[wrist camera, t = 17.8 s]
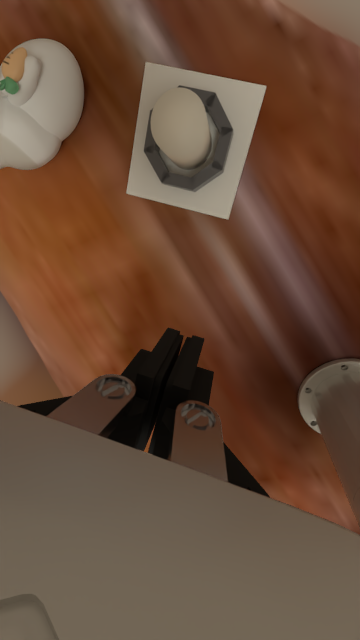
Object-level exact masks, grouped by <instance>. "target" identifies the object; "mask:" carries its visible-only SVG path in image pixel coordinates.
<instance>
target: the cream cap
mask: <svg viewBox="0 0 360 640" xmlns="http://www.w3.org/2000/svg"><path fill="white" fill-rule="evenodd" d="M151 132H152V135H153V138H154V140H155V142H156V144H157V145H158V146H159V147H160V149H161V150H162V151H163V152H164V153H165V154H166V155H167V156H168V157H169V158H170V160H171V161H172V162H173V163H174V164H175V165H176V166H177V167H179V168H181V169H183V170H194V169H197V168H199V167H200V166H202V165H203V164H204V163H205V162H206V160H207V159H208V157H209V155H210V152H211V148H212V138H211V133H210V129H209V124H208V120H207V116H206V111H205V107H204V105H203V103H202V101H201V99H200V98H199V96H198V95H197V94H196V93H194V92H193V91H191V90H189V89H187V88H180V87H178V88H173V89H170V90H168V91H167V92H165V93H164V94H163V95H162V96H161V97H160V98H159V99H158V100H157V102H156V104H155V106H154V108H153V111H152V114H151Z"/></svg>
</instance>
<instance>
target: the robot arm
mask: <svg viewBox="0 0 360 640" xmlns="http://www.w3.org/2000/svg"><path fill="white" fill-rule="evenodd" d="M182 340H183V335H180V331H177V330H174V329H171V328H167V330H166V331H165V333H164V334H163V336H162V337H161V339H160V340H159V342H158V343H157V345H156V346H155V348H154V349H153V350H152V352H150V351H147V350H143V349H141V350H140V351H139V352H138V354H137V355H136V356H135V357H134V359H133V360H132V361H131V362H130V364H129V365H128V366H127V368H126V369H125V370H124V371H123V373H122V374H121V375H115V374H108V375H103V376H100V377H98V378H96V379H94V380H93V381H92V382H91V383H89V384H88V385H87V386H85V387H84V388H83V389H81V390H80V391H79V392H77V393H76V394H75V395H74V396H69V397H64V398H58V399H53V400H47V401H42V402H36V403H31V404H26V405H20V406H14V405H12V404H9V403H6V402H3V401H1V400H0V640H360V535H359V534H357V533H355V532H353V531H351V530H349V529H347V528H345V527H343V526H341V525H338V524H336V523H334V522H331V521H329V520H326V519H324V518H321V517H319V516H316V515H314V514H311V513H309V512H306V511H304V510H301V509H299V508H296V507H294V506H291V505H289V504H286V503H283V502H280V501H278V500H275V499H272V498H270V497H269V495H268V494H267V493H266V492H265V490H264V489H263V488H262V487H261V486H260V485H259V483H258V482H257V481H256V480H255V479H254V477H253V476H252V475H251V474H250V473H249V472H248V470H247V469H246V468H245V467H244V466H243V465H242V463H241V462H240V461H239V460H238V459H237V458H236V456H235V455H234V454H233V453H232V452H231V450H230V449H229V448H228V447H227V446H226V445H225V443H224V442H223V437H222V428H221V421H220V418H219V415H218V414H217V413H216V411H215V410H214V409H213V408H211V407H210V406H209V399H210V393H211V387H212V380H213V374H214V372H212V371H209V370H206V369H203V368H200V367H197V363H198V360H199V356H200V353H201V349H202V346H203V342H204V338H200V337H197V336H194V335H193V336H192V338H189V337H187V338H186V340H185V343H184V345H183V347H182V349H181V352H180V348H181V344H182ZM179 352H180V354H179ZM178 355H179V356H178ZM342 365H343V366H342ZM298 406H299V410H300V413H301V415H302V417H303V419H304V420H305V422H306V423H307V424H308V425H309V426H310V427H311V428H312V429H313V430H315V431H316V432H318V433H320V434H322V437H323V439H324V442H325V444H326V447H327V449H328V452H329V454H330V456H331V459H332V461H333V464H334V466H335V469H336V471H337V474H338V476H339V479H340V481H341V484H342V486H343V488H344V491H345V493H346V496H347V498H348V501H349V503H350V506H351V508H352V511H353V513H354V515H355V517H356V520H357V522H358V525H359V527H360V359H355V358H350V359H339V360H334V361H331V362H328V363H325V364H323V365H321V366H319V367H318V368H316V369H315V370H313V371H312V372H311V373H310V374H309V375H308V376H307V377H306V378H305V379H304V381H303V382H302V384H301V386H300V389H299V392H298ZM155 423H156V424H155ZM154 425H155V428H154ZM153 428H154V431H153V435H152V439H151V443H150V447H149V451H148V453H150V454H148V453H146V452H143V451H144V449H145V447H146V445H147V442H148V440H149V437H150V435H151V433H152V430H153ZM140 450H142V451H140ZM151 454H152V455H151Z"/></svg>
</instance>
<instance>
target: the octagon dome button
mask: <svg viewBox="0 0 360 640" xmlns="http://www.w3.org/2000/svg"><path fill="white" fill-rule="evenodd" d="M178 87H180V88H187V89H189V90H191V91H193V92H194V93H196V94H197V95H198V96H199V98H200V99H201V101H202V103H203V105H204V107H205V111H206V116H207V120H208V124H209V129H210V133H211V138H212V148H211V152H210V155H209V157H208V159H207V160H206V162H205V163H204V164H203V165H202V166H200V167H199V168H197V169H194V170H183V169H181V168H179V167H177V166H176V165H175V164H174V163H173V162H172V161H171V160H170V158H169V157H168V156H167V155H166V154H165V153H164V152H163V151H162V150H161V149H160V147H159V146H158V145H157V144H156V142H155V140H154V138H153V135H152V132H151V114H152V111H153V108H154V106H155V104H156V102H157V100H158V99H159V98H160V97H161V96H162V95H163V94H164V93H165V92H167V91H168V90H170V89H173V88H178ZM265 91H266V86H264V85H259V84H254V83H249V82H244V81H239V80H234V79H229V78H224V77H219V76H214V75H209V74H204V73H199V72H194V71H189V70H184V69H179V68H174V67H169V66H164V65H159V64H154V63H149V62H146V64H145V70H144V77H143V84H142V91H141V97H140V104H139V111H138V118H137V124H136V131H135V138H134V145H133V152H132V158H131V165H130V172H129V179H128V185H127V192H126V194H130V195H134V196H137V197H141V198H145V199H149V200H153V201H157V202H161V203H165V204H169V205H173V206H176V207H180V208H184V209H188V210H192V211H196V212H200V213H204V214H208V215H212V216H215V217H219V218H223V219H227V220H228V219H229V216H230V212H231V209H232V205H233V202H234V199H235V195H236V192H237V188H238V185H239V181H240V178H241V174H242V171H243V167H244V164H245V160H246V157H247V153H248V150H249V146H250V143H251V140H252V136H253V133H254V129H255V126H256V122H257V119H258V115H259V112H260V108H261V105H262V101H263V98H264V94H265Z"/></svg>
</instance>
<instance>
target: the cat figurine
mask: <svg viewBox="0 0 360 640" xmlns="http://www.w3.org/2000/svg"><path fill="white" fill-rule="evenodd" d="M83 104H84V84H83V78H82V74H81V70H80V67H79V65H78V63H77V60H76V59H75V57H74V55H73V54H72V53H71V51H70V50H69V49H68V48H67V47H65V46H64V45H63V44H61V43H59V42H57V41H54V40H51V39H33V40H29V41H26V42H24V43H22V44H20V45H18V46H17V47H16V48H14V49H13V50H12V51H11V52H10V53H9V54H8V55H7V56H6V58H5V59H4V60H3V62H2V64H1V66H0V169H2V168H4V167H13V168H16V169H21V170H32V169H37V168H39V167H41V166H43V165H45V164H46V163H48V162H49V161H50V160H52V159H53V158H54V157H55V156H56V154H57V153H58V151H59V149H60V146H61V143H62V141H63V140H64V139H66V138H67V137H68V136H69V135H70V134H71V133H72V132H73V130H74V129H75V127H76V126H77V124H78V122H79V120H80V117H81V114H82V110H83Z"/></svg>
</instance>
